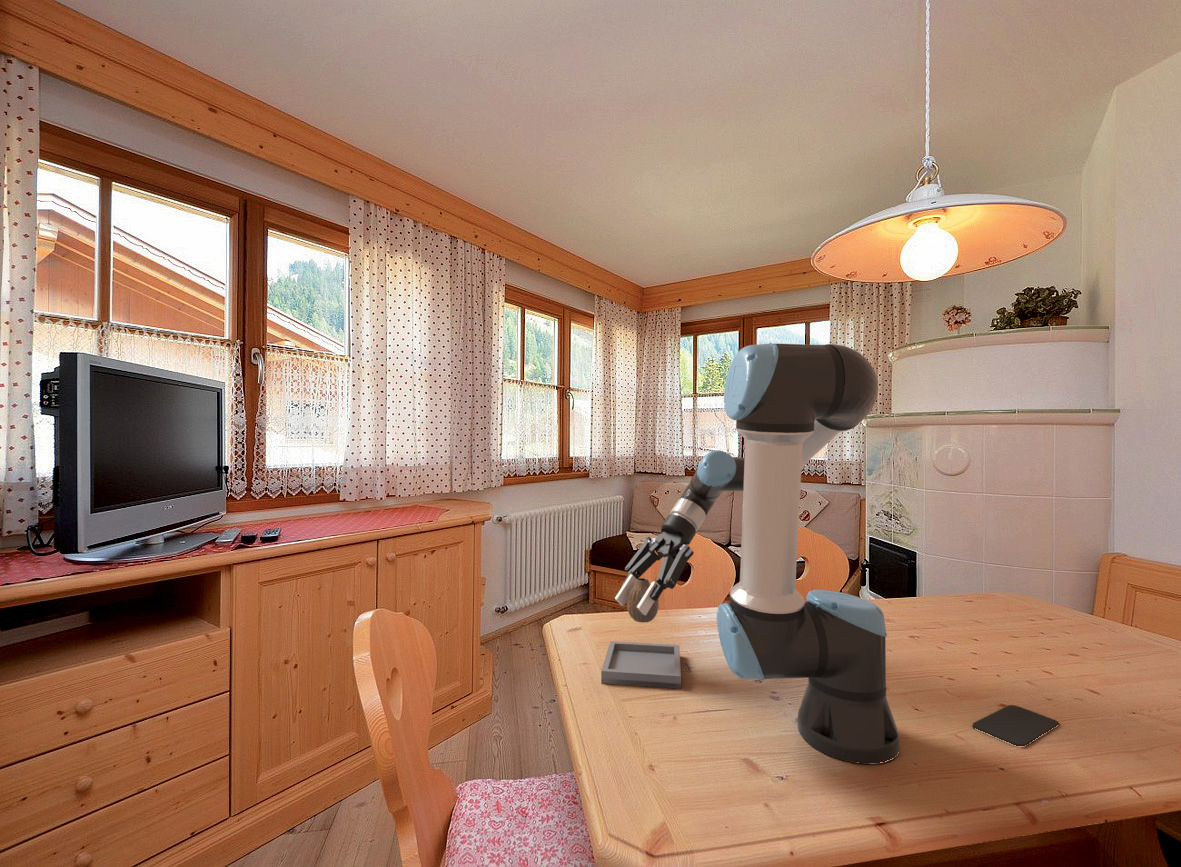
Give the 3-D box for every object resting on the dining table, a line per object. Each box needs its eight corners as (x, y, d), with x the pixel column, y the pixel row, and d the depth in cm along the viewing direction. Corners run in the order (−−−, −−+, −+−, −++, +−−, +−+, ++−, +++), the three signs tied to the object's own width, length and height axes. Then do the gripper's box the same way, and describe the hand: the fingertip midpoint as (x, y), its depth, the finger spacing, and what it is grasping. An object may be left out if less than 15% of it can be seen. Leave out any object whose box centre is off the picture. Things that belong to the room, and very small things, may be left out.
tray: (680, 688, 103) (680, 676, 103) (601, 683, 105) (601, 671, 105) (679, 656, 118) (679, 645, 119) (610, 651, 121) (610, 641, 121)
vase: (665, 619, 113) (664, 578, 113) (646, 627, 108) (645, 585, 108) (639, 612, 117) (639, 573, 117) (620, 620, 112) (620, 579, 112)
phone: (1062, 722, 89) (1021, 746, 82) (1062, 727, 89) (1021, 751, 82) (1011, 703, 96) (969, 724, 89) (1011, 708, 96) (969, 729, 88)
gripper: (723, 539, 114) (671, 629, 104) (661, 527, 130) (611, 605, 120) (707, 517, 111) (651, 608, 101) (645, 508, 126) (592, 586, 117)
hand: (629, 606), depth 110 cm, fingers closed on vase, 7 cm apart
